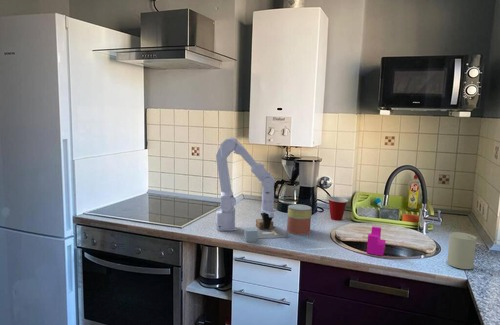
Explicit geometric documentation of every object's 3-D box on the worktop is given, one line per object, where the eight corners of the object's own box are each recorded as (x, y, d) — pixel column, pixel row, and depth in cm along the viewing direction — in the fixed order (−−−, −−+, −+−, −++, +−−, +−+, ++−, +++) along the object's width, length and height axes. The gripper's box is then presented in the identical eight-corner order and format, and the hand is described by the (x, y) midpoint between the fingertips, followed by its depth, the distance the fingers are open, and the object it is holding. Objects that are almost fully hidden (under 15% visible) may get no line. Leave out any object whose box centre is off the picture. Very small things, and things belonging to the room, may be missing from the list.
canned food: (314, 231, 184) (315, 206, 182) (303, 236, 174) (304, 211, 173) (293, 226, 190) (295, 203, 188) (282, 231, 181) (283, 207, 179)
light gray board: (258, 238, 169) (258, 238, 169) (251, 229, 183) (251, 229, 183) (288, 237, 173) (288, 236, 173) (278, 228, 186) (278, 227, 186)
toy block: (382, 255, 153) (384, 238, 153) (366, 253, 156) (367, 235, 155) (385, 244, 167) (387, 228, 166) (371, 242, 170) (372, 226, 169)
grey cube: (246, 242, 164) (246, 231, 164) (243, 238, 169) (244, 227, 169) (257, 241, 166) (257, 230, 165) (254, 238, 170) (254, 227, 170)
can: (466, 271, 140) (470, 240, 138) (442, 263, 147) (445, 233, 146) (478, 266, 145) (481, 235, 144) (453, 258, 153) (456, 229, 151)
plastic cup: (345, 223, 197) (346, 201, 196) (324, 221, 201) (325, 199, 200) (348, 218, 207) (349, 197, 206) (328, 216, 211) (329, 195, 210)
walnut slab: (259, 229, 182) (259, 222, 182) (255, 225, 189) (256, 218, 189) (273, 228, 184) (273, 221, 184) (269, 225, 191) (269, 218, 190)
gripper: (280, 203, 174) (279, 232, 176) (271, 197, 188) (270, 223, 190) (265, 204, 172) (264, 233, 174) (257, 197, 186) (256, 224, 188)
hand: (266, 228), depth 182 cm, fingers closed
